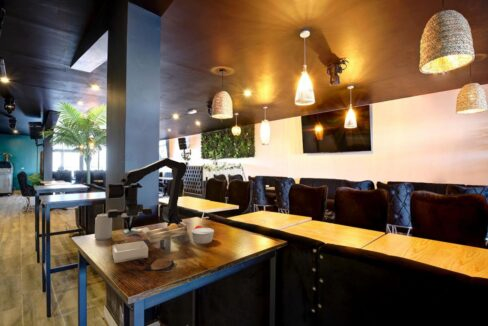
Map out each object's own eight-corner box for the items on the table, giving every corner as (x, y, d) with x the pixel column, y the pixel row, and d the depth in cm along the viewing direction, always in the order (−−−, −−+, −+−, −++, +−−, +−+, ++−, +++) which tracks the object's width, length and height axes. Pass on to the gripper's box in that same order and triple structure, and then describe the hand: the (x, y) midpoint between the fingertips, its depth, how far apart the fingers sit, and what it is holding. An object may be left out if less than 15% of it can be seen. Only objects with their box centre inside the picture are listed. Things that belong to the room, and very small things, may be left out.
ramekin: (195, 245, 113) (195, 234, 114) (188, 239, 123) (189, 228, 123) (217, 242, 119) (217, 232, 119) (209, 236, 129) (209, 226, 129)
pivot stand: (163, 246, 112) (163, 231, 112) (170, 253, 103) (170, 237, 103) (159, 246, 111) (159, 231, 111) (165, 254, 102) (166, 237, 102)
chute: (173, 228, 127) (172, 215, 127) (189, 240, 107) (188, 226, 107) (124, 238, 115) (123, 225, 114) (132, 255, 94) (130, 239, 94)
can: (103, 241, 117) (104, 216, 117) (90, 239, 119) (91, 215, 119) (115, 236, 124) (115, 213, 125) (102, 235, 126) (103, 212, 126)
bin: (143, 249, 107) (143, 240, 107) (147, 257, 98) (148, 247, 98) (112, 254, 100) (112, 245, 100) (114, 263, 92) (115, 252, 92)
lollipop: (210, 233, 135) (210, 211, 135) (192, 234, 131) (193, 212, 131) (207, 230, 140) (208, 209, 140) (191, 231, 137) (191, 210, 137)
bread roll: (177, 264, 93) (178, 254, 93) (172, 274, 85) (172, 263, 85) (149, 264, 93) (149, 254, 93) (141, 274, 84) (141, 263, 84)
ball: (177, 224, 112) (170, 221, 110) (180, 226, 109) (173, 223, 107) (173, 232, 111) (165, 229, 109) (176, 234, 108) (168, 231, 106)
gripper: (109, 200, 102) (108, 237, 102) (155, 198, 112) (154, 232, 112) (107, 197, 111) (106, 231, 111) (150, 196, 121) (149, 226, 121)
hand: (129, 230), depth 114 cm, fingers closed, pressing on chute
